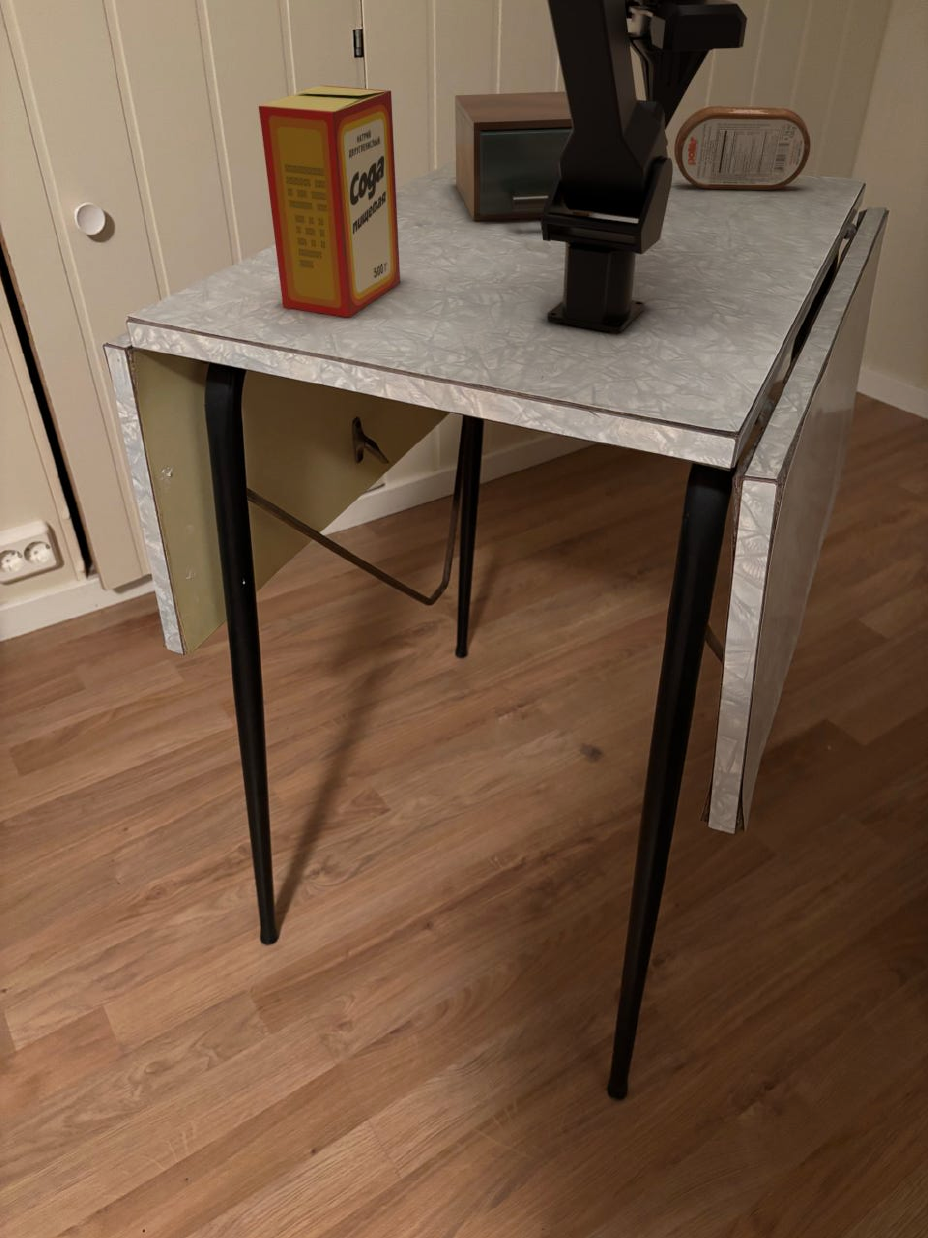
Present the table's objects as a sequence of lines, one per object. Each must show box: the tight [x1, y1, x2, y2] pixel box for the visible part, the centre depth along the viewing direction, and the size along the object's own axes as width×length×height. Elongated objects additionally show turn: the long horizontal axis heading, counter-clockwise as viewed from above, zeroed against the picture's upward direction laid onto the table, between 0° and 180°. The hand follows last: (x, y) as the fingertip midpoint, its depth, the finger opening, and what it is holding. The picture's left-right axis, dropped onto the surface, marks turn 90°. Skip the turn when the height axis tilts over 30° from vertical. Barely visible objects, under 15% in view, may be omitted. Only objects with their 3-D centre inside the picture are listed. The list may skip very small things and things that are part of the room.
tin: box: [673, 105, 812, 191], centre depth 112 cm, size 15×3×8 cm, turn 84°
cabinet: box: [454, 91, 590, 222], centre depth 108 cm, size 15×13×10 cm
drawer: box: [479, 127, 573, 215], centre depth 105 cm, size 18×11×8 cm, turn 8°
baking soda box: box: [258, 85, 401, 319], centre depth 82 cm, size 10×6×16 cm
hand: (657, 131), depth 84 cm, fingers closed
